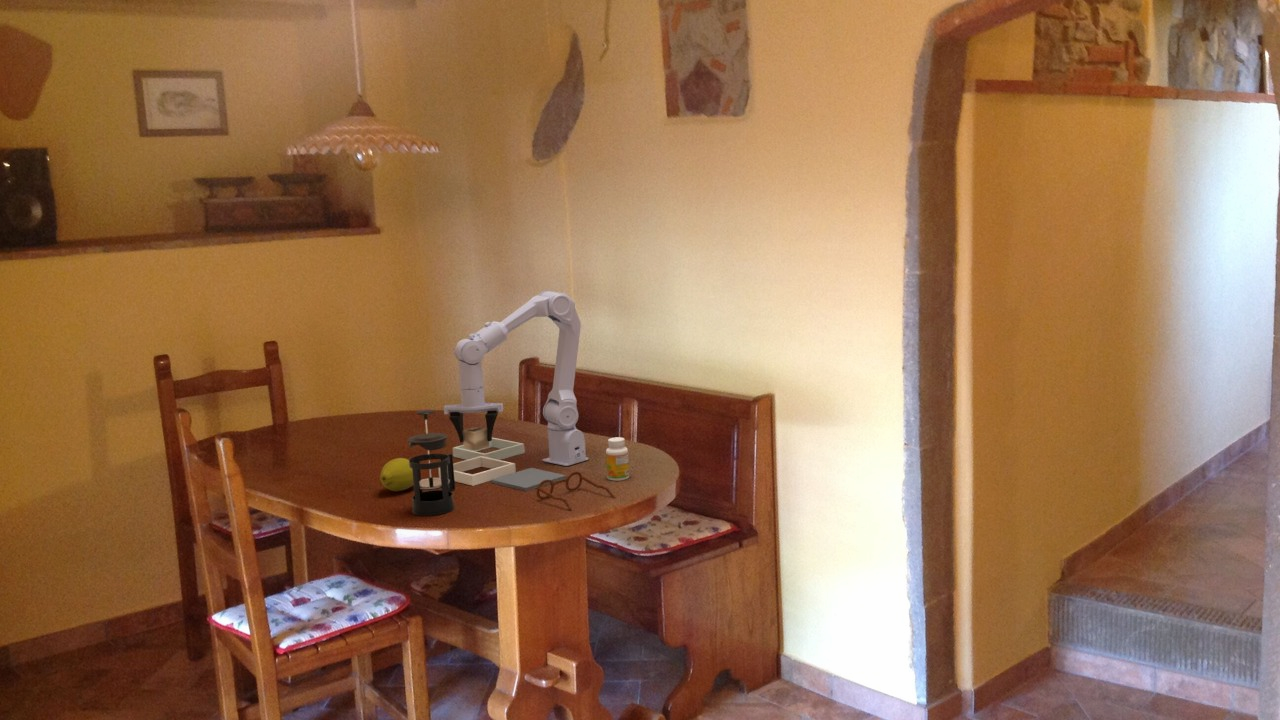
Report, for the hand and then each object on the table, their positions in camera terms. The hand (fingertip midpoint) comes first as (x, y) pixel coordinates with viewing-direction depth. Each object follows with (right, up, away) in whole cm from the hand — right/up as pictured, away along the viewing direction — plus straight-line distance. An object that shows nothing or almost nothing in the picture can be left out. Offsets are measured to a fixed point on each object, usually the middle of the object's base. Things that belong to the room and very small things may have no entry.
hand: (476, 440), depth 278 cm
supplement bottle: (+36, -9, -7) cm, 37 cm away
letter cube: (0, -2, 0) cm, 2 cm away
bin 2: (0, -9, +2) cm, 9 cm away
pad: (+14, -9, -6) cm, 18 cm away
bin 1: (0, -5, +22) cm, 22 cm away
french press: (-5, -14, -26) cm, 30 cm away
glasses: (+26, -12, -23) cm, 37 cm away
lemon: (-17, -12, -9) cm, 23 cm away
